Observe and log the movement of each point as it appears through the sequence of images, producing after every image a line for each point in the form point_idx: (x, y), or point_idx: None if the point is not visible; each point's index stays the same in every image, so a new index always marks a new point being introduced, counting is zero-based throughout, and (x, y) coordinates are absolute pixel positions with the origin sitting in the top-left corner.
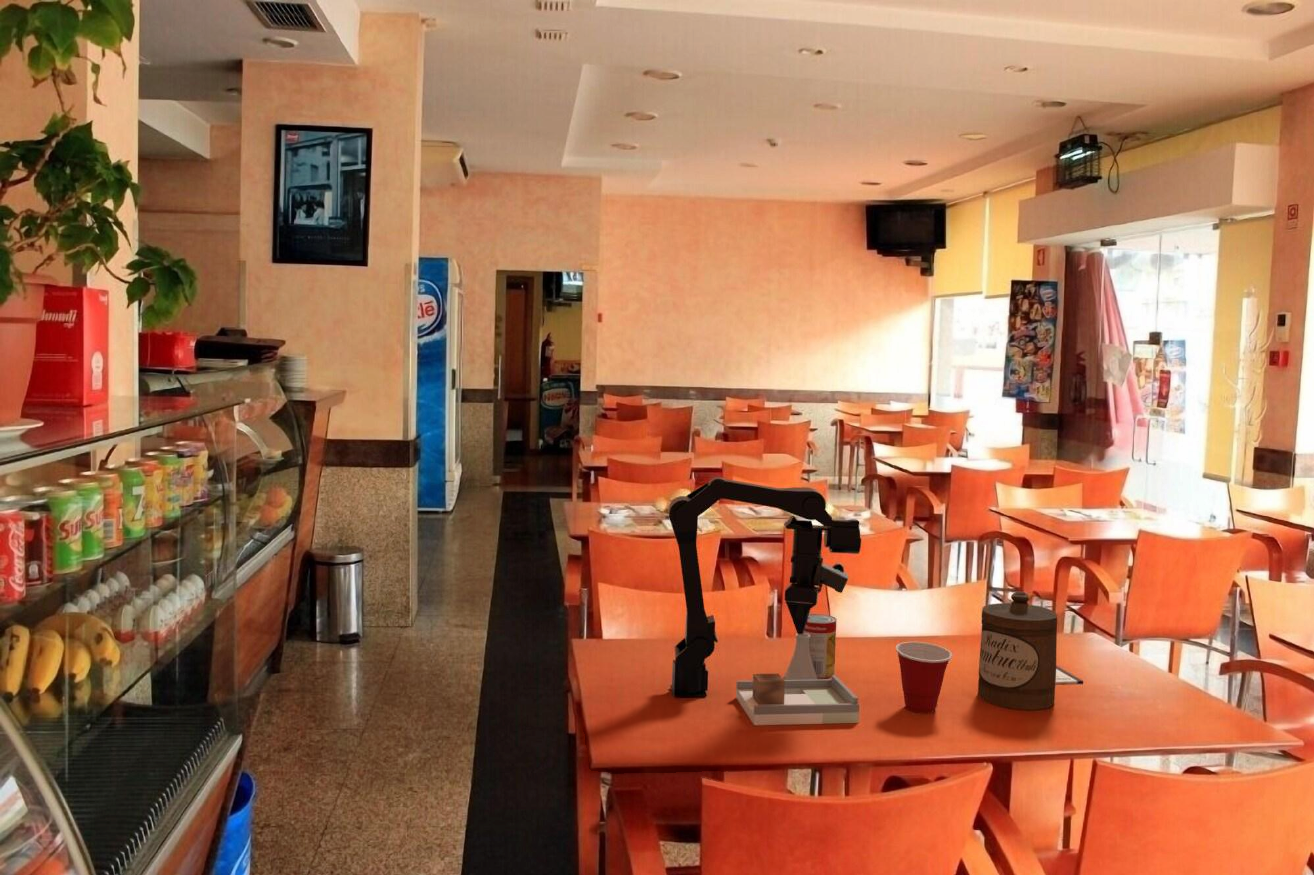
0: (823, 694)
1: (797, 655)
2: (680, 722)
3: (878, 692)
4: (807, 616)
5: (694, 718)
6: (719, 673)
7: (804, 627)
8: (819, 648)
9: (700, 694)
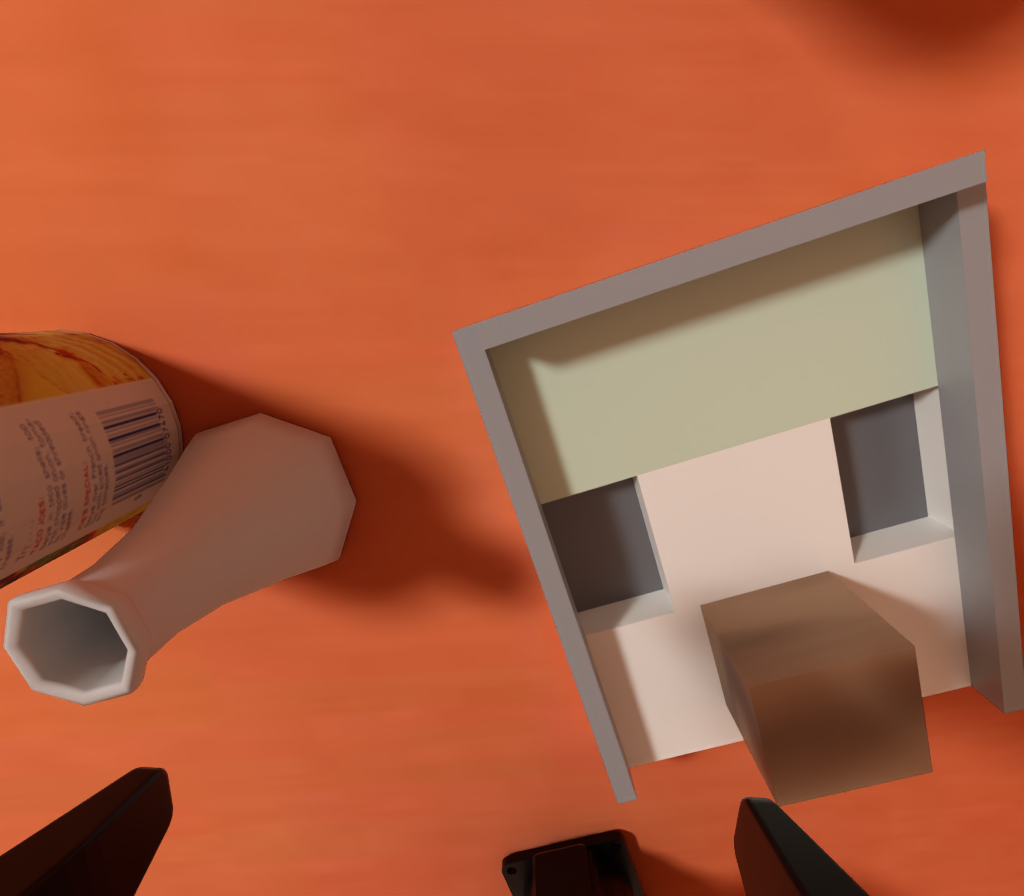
0: (628, 384)
1: (232, 589)
2: (925, 872)
3: (314, 51)
4: (88, 850)
5: (877, 839)
6: (290, 812)
7: (829, 877)
8: (28, 459)
9: (630, 857)
